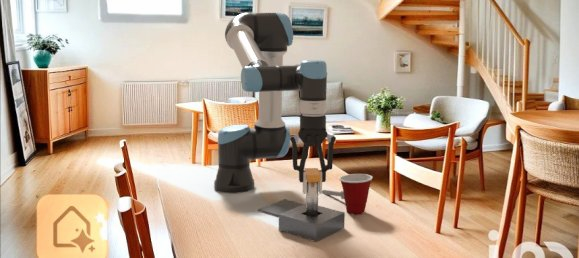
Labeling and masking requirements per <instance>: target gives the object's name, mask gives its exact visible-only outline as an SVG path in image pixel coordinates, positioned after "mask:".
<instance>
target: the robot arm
mask: <svg viewBox="0 0 579 258" xmlns="http://www.w3.org/2000/svg"><path fill="white" fill-rule="evenodd" d="M224 31H225V32H224V38H225V41H226V43H227V46H228V47H229V48H230V49H232V50H233V51H234V53H235V55H236V57H237V60H238V61H239V64H240V66H241V67H242V69H241V71H240V84H241V88H242V89H243V91H244V92H246V93H247V92H249V93H252V92H253V93H258V119H257V120H256V121H255V122H254V128H253V127H252V128H250V126H249V125H248V124H233V125H229V126H226V127H223V128H221V129H220V130H218V134H217V148H218V149H217V151H218V153H217V155H218V157H217V161H218V169H217V172H216V178H215V179H214V182H213V188H214V190H215V191H217V192H219V193H220V192H221V193H227V194H237V193H246V192H250V191H252V190H254V189H255V179H254V178H253V173H252V171H251V167H250V166H251V165H250V164H251V163H250V162H251V160H262V159H265V160H266V159H276V158H283V157H285V156H286V155H287V154H288V152H289V149H290V146H291V148H292V153H291V154H292V168H293V170H294V171H298V180H299V181H298V182H299V183H302V194H303V195H306V171H305V170H304V168H305V167H306V161H307V157H308V152H309V148H310V147H315V148H316V149H317V150H316V151H317V153H318V161H319V165H320V169H318V170H319V172H320V174H321V182H318V195H322V194H323V192H322V190H323V183H325V182H327V171H329V170H332V169H333V163H334V161H333V159H334V144H335V142H336V140H337V138H336V136H335V135H334V134H333V135H331V134H329V133H328V131H327V116H326V115H325V114H326V113H327V87H328V86H327V82H328V81H327V77H328V71H327V70H328V69H327V67H328V66H327V63H326V61H324V60H316V59H310V60H309V59H308V60H306V59H305V60H302V61H301V62H300V64H295V65H284V63H283V62H284V55H285V54H286V53H287V52H288V47H290V46H292V45H293V42H294V41H293V40H294V29H293V24H292V22H291V19H290V17H289V16H288V15H287V14H285V13H280V12H244V13H240V14H238V15H236V16H235V17H233V18H232V19H231V20H229V22H228V23H227V25H226V28H225V30H224ZM287 91H288V92H289V91H294V92H296V91H299V93H300V94H299V100H300V101H299V106H300V107H299V112H300V114H301V115H300V116H299V131H298V132H297V134H295V135H291V132H290V129H289V127H287V126H286V122H285V121H284V120H283V119H282V116H283V115H282V109H283V107H282V105H283V104H282V103H283V102H282V101H283V92H287ZM299 139H300V140H301V142H302V143H303V148H302V152H301V158H300V162H299V165H298V144H297V143H299ZM324 141H327V142H328V143H327V162H325V158H324V152H323V146H322V144H323V143H324ZM290 144H291V145H290ZM326 163H327V164H326Z"/></svg>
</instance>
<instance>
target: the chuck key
mask: <svg viewBox="0 0 579 258" xmlns="http://www.w3.org/2000/svg"><path fill="white" fill-rule="evenodd" d="M304 170H305V171H306V194H305V196H306V198H305V204H306V215H307V216H311V217H315V216H318V206H319V191H318V182H321V174H320V172H319V170H320V169H319V168H318V167H310V168H309V167H306V168H305V167H304Z"/></svg>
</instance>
